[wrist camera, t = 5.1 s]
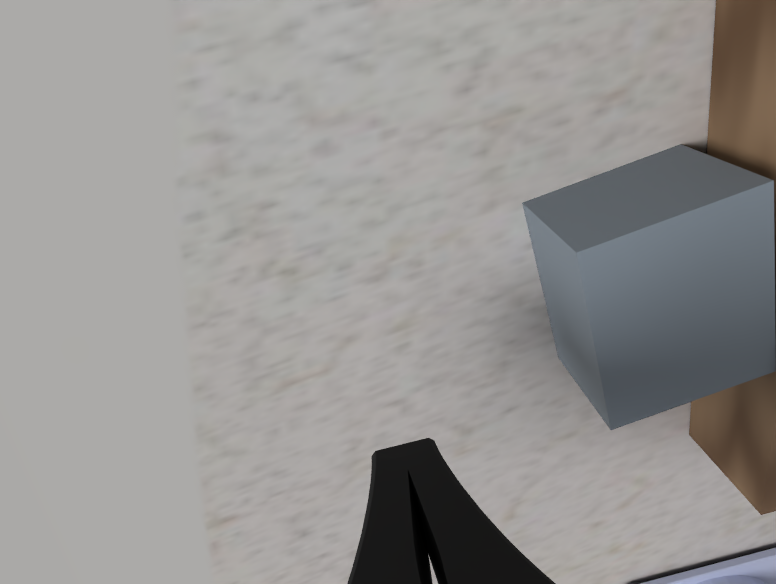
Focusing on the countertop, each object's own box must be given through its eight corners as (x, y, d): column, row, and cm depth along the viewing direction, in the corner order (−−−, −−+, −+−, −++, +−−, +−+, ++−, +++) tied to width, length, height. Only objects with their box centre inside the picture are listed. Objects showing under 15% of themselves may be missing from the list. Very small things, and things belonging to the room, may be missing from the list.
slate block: (692, 306, 20) (776, 371, 17) (556, 355, 21) (610, 430, 17) (677, 142, 18) (774, 180, 14) (520, 201, 18) (576, 252, 14)
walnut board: (737, 422, 23) (818, 499, 20) (689, 434, 23) (761, 514, 19) (789, -38, 16) (934, -48, 12) (717, -22, 16) (842, -27, 12)
